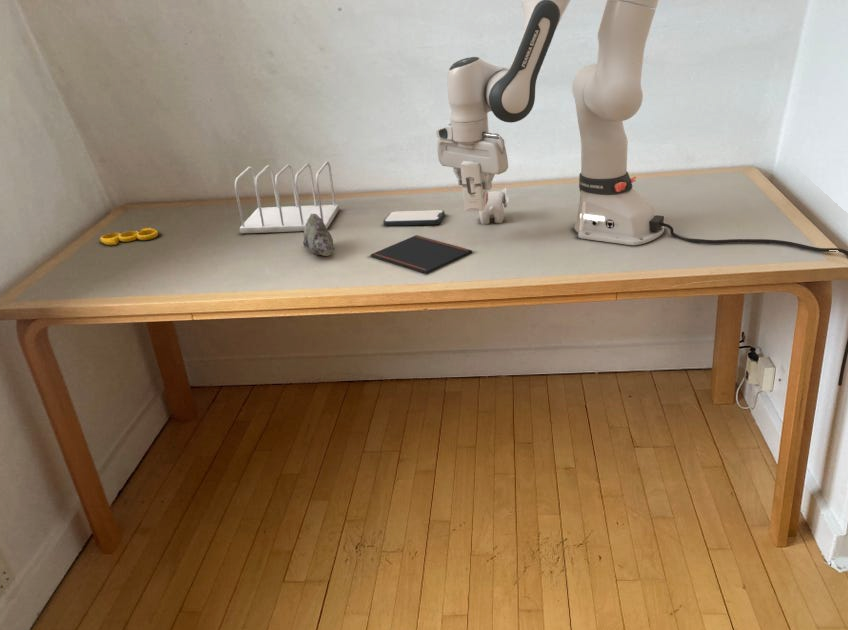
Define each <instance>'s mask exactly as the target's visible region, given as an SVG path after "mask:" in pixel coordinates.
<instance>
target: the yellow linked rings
mask: <svg viewBox="0 0 848 630" xmlns="http://www.w3.org/2000/svg"><path fill="white" fill-rule="evenodd" d="M158 236H159V231H158V230H157V229H154V228H153V227H143V228H141V229H140V230H139V231H137V230H130V231H125V232H122V233H120V232H110V233H106V234H103V235H102V236H100V238H99V239H100V242H101V243H102V244H104V245H106V246H117V245H118V244H119V243H120V242H122V243H130V242H134V241H137V240H139V241H150V240H154V239H156V238H157V237H158Z"/></svg>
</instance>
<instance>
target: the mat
mask: <svg viewBox="0 0 848 630" xmlns="http://www.w3.org/2000/svg"><path fill="white" fill-rule="evenodd" d="M472 253H473V250H472V249H470V248H469V249H468V248H465V247H461V246H457V245H453V244H450V243H446V242H443V241H438V240H435V239H431V238H428V237H424V236H420V235H413V236H411V237H408V238H407V239H404V240H402V241H398V242H397V243H394V244H392V245H390V246H387V247H385V248H383V249H380V250H378V251H375V252H372V253H371V254H370V257H371V258H375V259H377V260H380V261H384V262H387V263H390V264H393V265H397V266H399V267H403V268H406V269H409V270H413V271H416V272H419V273H422V274H425V275H427V274H429V273H432V272H434V271H436V270H438V269H440V268H442V267H444V266H447V265H449V264H450V263H453V262H455V261H457V260H459V259H462V258H463V257H466V256H468V255H470V254H472Z"/></svg>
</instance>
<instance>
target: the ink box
mask: <svg viewBox="0 0 848 630" xmlns="http://www.w3.org/2000/svg"><path fill="white" fill-rule="evenodd" d="M460 166H461V176H462V185H461V187H462V196H463V206H464V211H465V212H479V211H483V210H484V208H485V206H486V204H487V202H488V192H489V190H484V189H483V184H482V183H483V182H485V180H486V177H485V173H484V172H480V164H479V163H476V162H470V161H463V162H462V164H461V165H460Z"/></svg>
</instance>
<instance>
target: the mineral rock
mask: <svg viewBox="0 0 848 630" xmlns="http://www.w3.org/2000/svg"><path fill="white" fill-rule="evenodd" d="M333 239H334V238H333V236H332V234H331V233H330V231H329V230H328V228H327V229H326V227H325V225H324V222H323V220H322V219H321V218H320V217H319V216H318V215H317V214H310V217H309V218H308V220H307V223H306V224H305V228H304V231H303V241H302V244H303V246H305V247H307V249H308V250H309V252H310V254H312V255H315V256H316V255H319V256H323V257H328V256H330V255H332V254H333V250H334V248H335V247H334V240H333Z"/></svg>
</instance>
